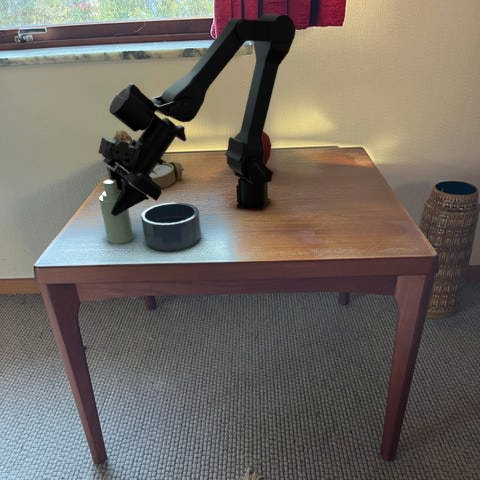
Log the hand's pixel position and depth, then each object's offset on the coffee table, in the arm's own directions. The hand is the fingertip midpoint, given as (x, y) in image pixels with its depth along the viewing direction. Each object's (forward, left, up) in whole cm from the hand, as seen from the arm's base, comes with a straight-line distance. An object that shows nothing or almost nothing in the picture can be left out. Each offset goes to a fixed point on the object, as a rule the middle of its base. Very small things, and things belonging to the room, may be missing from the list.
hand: (108, 210), depth 104 cm
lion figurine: (+23, -48, -7) cm, 54 cm away
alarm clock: (+8, -36, -7) cm, 37 cm away
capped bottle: (-1, -1, -7) cm, 7 cm away
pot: (-12, -3, -7) cm, 14 cm away
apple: (-14, -49, -7) cm, 52 cm away
